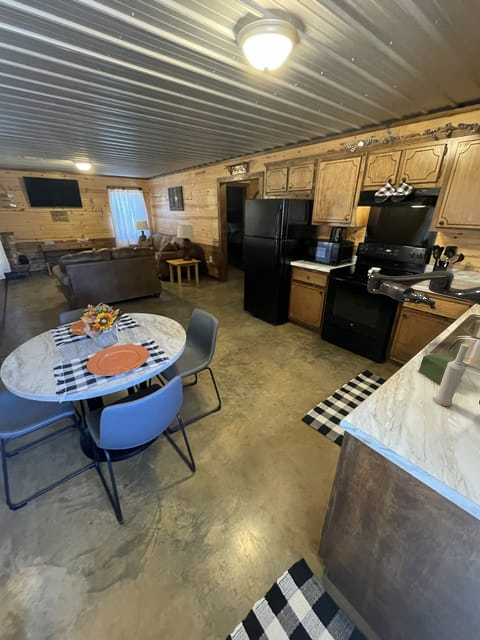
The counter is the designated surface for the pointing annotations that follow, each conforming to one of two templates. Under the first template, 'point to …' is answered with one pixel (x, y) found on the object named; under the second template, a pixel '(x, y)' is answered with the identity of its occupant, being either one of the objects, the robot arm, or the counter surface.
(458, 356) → the bottle
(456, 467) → the counter surface
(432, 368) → the green hinged box
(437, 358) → the lid
